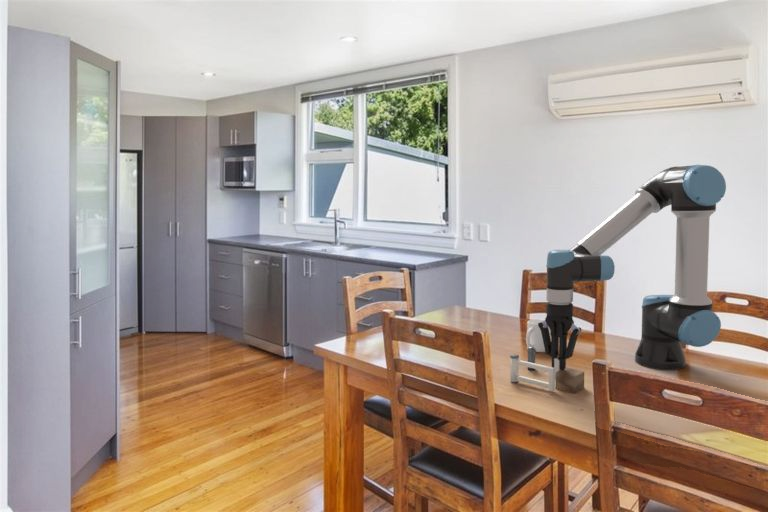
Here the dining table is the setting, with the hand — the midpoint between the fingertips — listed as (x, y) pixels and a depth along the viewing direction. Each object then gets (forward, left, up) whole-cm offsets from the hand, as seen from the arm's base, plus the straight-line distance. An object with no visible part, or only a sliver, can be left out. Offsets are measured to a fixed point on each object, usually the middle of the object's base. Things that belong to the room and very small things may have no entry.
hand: (558, 378), depth 164 cm
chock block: (-4, 0, -2) cm, 4 cm away
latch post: (+13, -8, -2) cm, 16 cm away
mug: (+23, -28, -2) cm, 36 cm away
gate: (+6, +6, -2) cm, 8 cm away
